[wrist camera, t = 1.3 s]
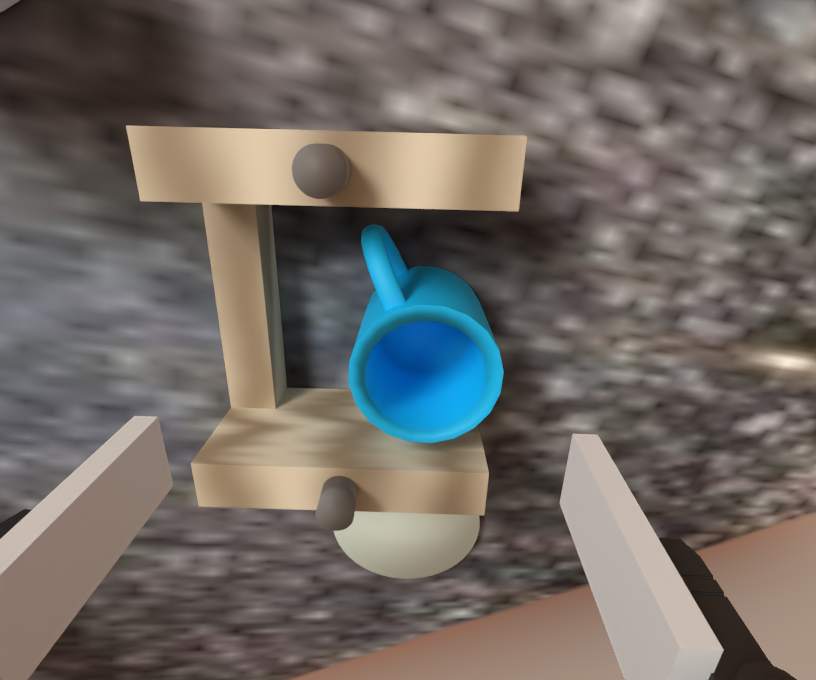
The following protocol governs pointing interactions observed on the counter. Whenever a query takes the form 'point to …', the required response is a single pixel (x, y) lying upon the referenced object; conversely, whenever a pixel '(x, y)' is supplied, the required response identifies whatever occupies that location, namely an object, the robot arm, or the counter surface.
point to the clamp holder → (261, 316)
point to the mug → (421, 349)
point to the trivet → (408, 542)
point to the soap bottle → (6, 4)
